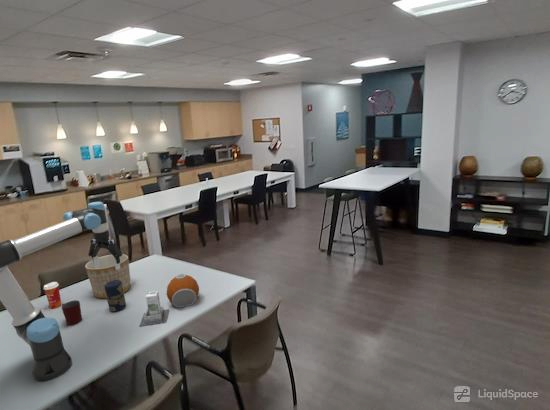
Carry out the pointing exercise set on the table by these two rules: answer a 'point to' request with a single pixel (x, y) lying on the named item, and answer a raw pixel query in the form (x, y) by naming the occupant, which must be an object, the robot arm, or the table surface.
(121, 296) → the canister
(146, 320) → the collar
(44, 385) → the table surface
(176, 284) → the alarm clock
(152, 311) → the syrup box
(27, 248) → the robot arm
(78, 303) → the mug
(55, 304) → the coffee cup
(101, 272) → the planter
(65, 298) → the table surface
